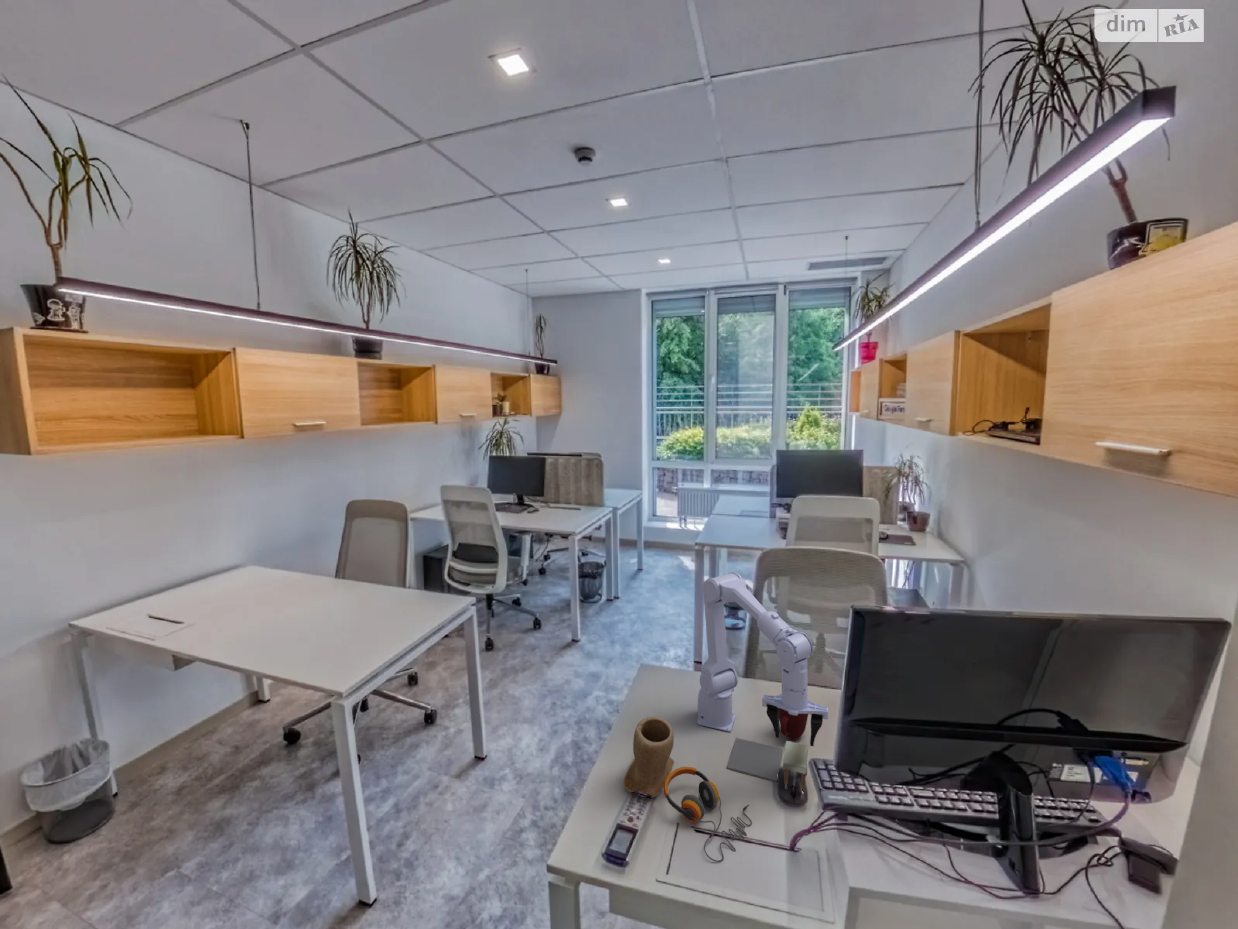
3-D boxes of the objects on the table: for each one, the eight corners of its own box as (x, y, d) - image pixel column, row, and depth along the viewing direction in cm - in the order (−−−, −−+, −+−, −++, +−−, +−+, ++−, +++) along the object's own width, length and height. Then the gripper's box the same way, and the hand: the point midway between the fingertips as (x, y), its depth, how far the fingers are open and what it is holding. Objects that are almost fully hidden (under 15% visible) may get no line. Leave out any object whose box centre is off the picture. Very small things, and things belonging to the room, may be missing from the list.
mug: (801, 754, 125) (801, 718, 124) (770, 743, 129) (770, 708, 128) (811, 732, 133) (811, 697, 132) (782, 722, 138) (782, 689, 137)
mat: (727, 768, 121) (727, 767, 120) (736, 739, 131) (736, 737, 131) (777, 782, 116) (777, 780, 115) (782, 750, 126) (782, 748, 126)
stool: (783, 790, 113) (782, 762, 112) (786, 767, 120) (786, 740, 120) (805, 796, 111) (805, 767, 110) (808, 772, 118) (808, 745, 118)
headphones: (722, 859, 93) (648, 784, 107) (717, 879, 95) (644, 803, 108) (767, 809, 105) (694, 747, 118) (762, 828, 106) (691, 764, 120)
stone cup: (664, 809, 109) (663, 747, 107) (617, 793, 114) (615, 733, 113) (686, 765, 122) (684, 709, 121) (642, 752, 128) (641, 698, 126)
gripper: (760, 687, 113) (760, 742, 114) (827, 700, 107) (827, 758, 108) (764, 673, 119) (764, 725, 121) (828, 684, 113) (828, 739, 115)
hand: (794, 739), depth 115 cm, fingers open, 7 cm apart
